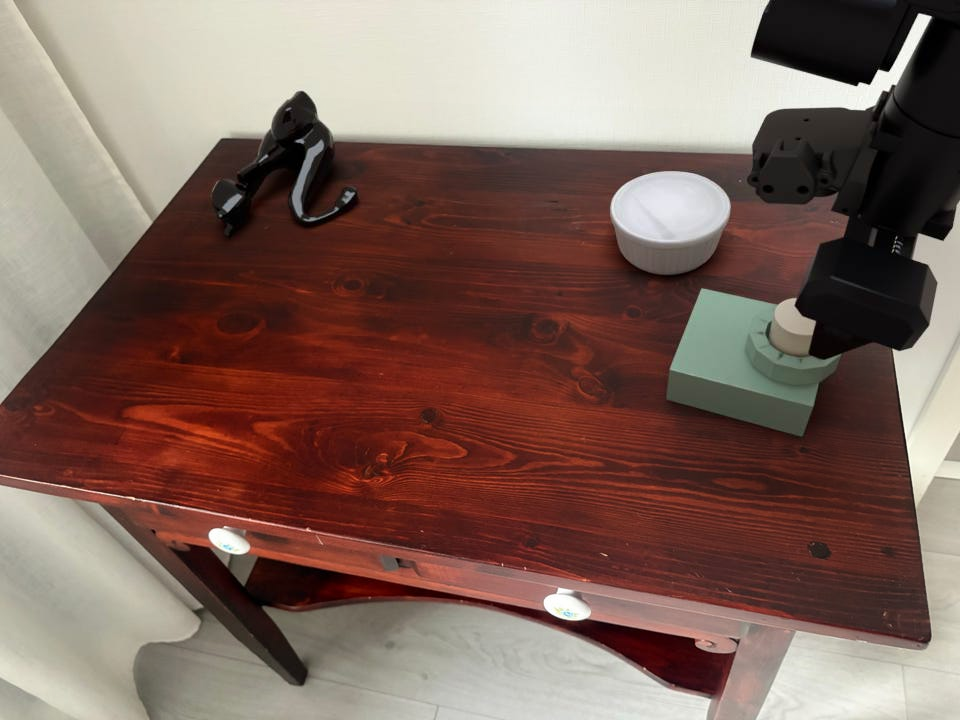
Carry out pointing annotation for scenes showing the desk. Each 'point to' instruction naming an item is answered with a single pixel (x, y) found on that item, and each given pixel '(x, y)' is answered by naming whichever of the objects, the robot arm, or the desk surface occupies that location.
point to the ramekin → (669, 221)
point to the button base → (743, 366)
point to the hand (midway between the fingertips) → (830, 308)
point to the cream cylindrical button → (791, 330)
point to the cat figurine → (285, 166)
